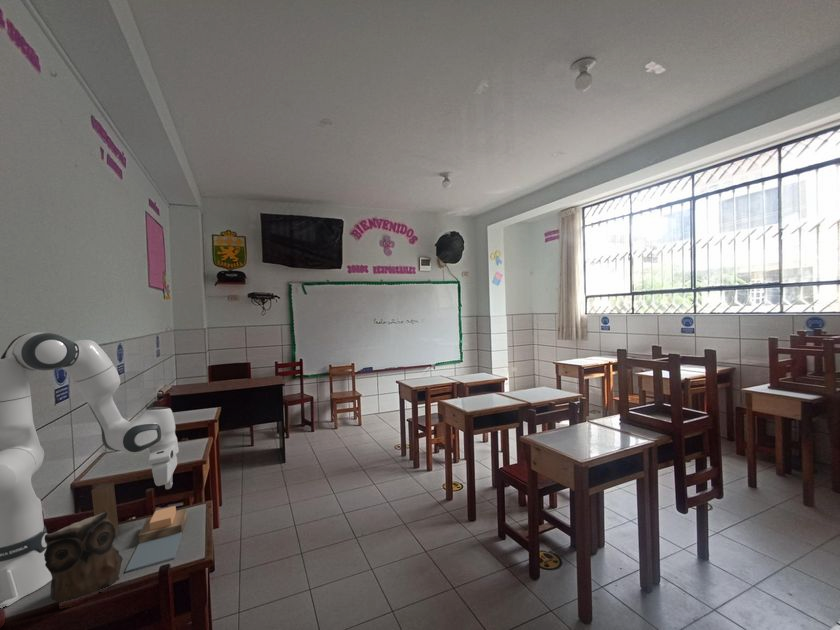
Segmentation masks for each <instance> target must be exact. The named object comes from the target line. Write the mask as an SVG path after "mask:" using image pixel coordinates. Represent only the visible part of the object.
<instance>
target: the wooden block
mask: <svg viewBox="0 0 840 630" xmlns="http://www.w3.org/2000/svg"><path fill="white" fill-rule="evenodd" d="M91 497H92V507H93V517H94V516H96V515H99V514H101V513H104V512H108V516H107V518H108V520H109V521H110V522H111V523H112V524H113V525H114V527H115V529H116V535H117V536H118V535H119V534H120V529H119V527H120V526H119V519H118V511H117V510H118V509H117V501H116V492H115V483H114V482H107V483H100V484H98V485H97V486H95V487H94V488H92V489H91Z"/></svg>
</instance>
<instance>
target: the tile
mask: <svg viewBox="0 0 840 630" xmlns="http://www.w3.org/2000/svg"><path fill="white" fill-rule="evenodd" d="M176 511H177V507H176V505H173V506H170V507H169V506H168V507H164V508H161V509H158V510H155V511H154V513H153V515H152V516H151V517H152V519H151V521H150V523H149V524H150V531H151V530H154V529H158V528H162V527H166V526H170V525H172V523H173V520H174V517H175V515H176Z"/></svg>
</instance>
